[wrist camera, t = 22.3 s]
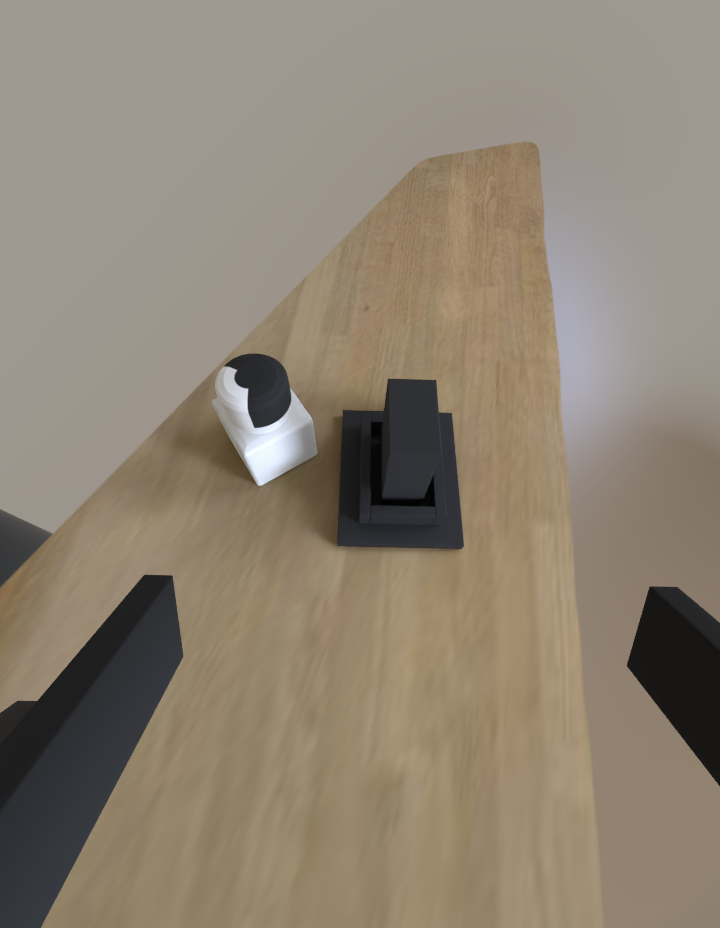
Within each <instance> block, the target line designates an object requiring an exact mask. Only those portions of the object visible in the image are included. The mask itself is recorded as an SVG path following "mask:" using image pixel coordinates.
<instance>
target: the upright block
mask: <svg viewBox="0 0 720 928" xmlns="http://www.w3.org/2000/svg"><path fill="white" fill-rule="evenodd" d="M441 455H442V451H441V438H440V425H439V411H438V398H437V385H436V380H411V379H388V384H387V392H386V400H385V408H384V416H383V424H382V432H381V440H380V505H408V506H420V505H421V503H422V501H423V498H424V496H425V493H426V491H427V489H428V486H429V484H430V481H431V479H432V477H433V474H434V472H435V469H436V467H437V465H438V462H439V460H440V457H441Z"/></svg>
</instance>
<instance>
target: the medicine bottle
mask: <svg viewBox="0 0 720 928" xmlns="http://www.w3.org/2000/svg"><path fill="white" fill-rule="evenodd" d="M215 390H216V393H217V396H218V397H217V398H215V399H213V400H212V405H213V407H214V409H215V411H216V413H217V415H218V417H219V419H220V421H221V423H222V425H223V427H224V429H225V431H226V433H227V434H228V436H229V438H230V440H231V442H232V443H233V445H234V447H235V448H236V450H237V452H238V454H239V455H240V457H241V459H242V460H243V462H244V464H245V465H246V467H247V469H248V470H249V472H250V474H251V475H252V477H253V479H254V481H255V482H256V484H257V485H258V486H262V485H264V484H265V483H267V482H269V481H271V480H273V479H274V478H276V477H278V476H280V475H282V474H284V473H285V472H287V471H289V470H291V469H293V468H294V467H296V466H298V465H300V464H302V463H303V462H305V461H307V460H309V459H311V458H312V457H314V456H316V455H317V446H316V439H315V433H314V426H313V420H312V418H311V416H310V415H309V414H308V412H307V411H306V409H305V408H304V406H303V405H302V404H301V402H300V401H299V399H298V398H297V397H296V395H295V394H294V392H293V391H292V389H291V388H290V386H289V381H288V377H287V373H286V370H285V369H284V367H283V366H282V364H281V363H279V362H278V361H277V360H276V359H274V358H272V357H270V356H267V355H262V354H245V355H241V356H238V357H236V358H234V359H232V360H231V361H229V362H228V363H227V364H226V365H225V366H224V367H223V368H222V369H221V370H220V372H219V374H218V375H217V378H216V382H215Z"/></svg>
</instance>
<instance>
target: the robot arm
mask: <svg viewBox="0 0 720 928" xmlns="http://www.w3.org/2000/svg"><path fill="white" fill-rule="evenodd" d="M182 658H183V650H182V643H181V636H180V628H179V621H178V613H177V606H176V598H175V591H174V584H173V576H168V575H144V576H143V577H142V578H141V579H140V581H139V582H138V583H137V584H136V585H135V587H134V588H133V589H132V590H131V591H130V592H129V594H128V595H127V596H126V597H125V598H124V599H123V601H122V602H121V603H120V604H119V605H118V607H117V608H116V609H115V610H114V611H113V612H112V614H111V615H110V616H109V617H108V618H107V620H106V621H105V622H104V623H103V624H102V625H101V627H100V628H99V629H98V630H97V631H96V633H95V634H94V635H93V636H92V637H91V638H90V640H89V641H88V642H87V643H86V644H85V646H84V647H83V648H82V649H81V650H80V651H79V653H78V654H77V655H76V656H75V657H74V659H73V660H72V661H71V662H70V663H69V664H68V666H67V667H66V668H65V669H64V670H63V671H62V673H61V674H60V675H59V676H58V677H57V679H56V680H55V681H54V682H53V683H52V684H51V686H50V687H49V688H48V689H47V690H46V692H45V693H44V694H43V695H42V696H41V697H40V699H39V700H38V701H17V702H15V703H14V704H12V705H11V706H10V707H8V708H7V709H5V710H4V711H3V712H1V713H0V928H41V926H42V924H43V922H44V920H45V918H46V916H47V915H48V913H49V911H50V909H51V907H52V905H53V903H54V901H55V899H56V897H57V896H58V894H59V892H60V890H61V888H62V886H63V884H64V882H65V880H66V878H67V876H68V875H69V873H70V871H71V869H72V867H73V865H74V863H75V861H76V859H77V857H78V856H79V854H80V852H81V850H82V848H83V846H84V844H85V842H86V840H87V838H88V837H89V835H90V833H91V831H92V829H93V827H94V825H95V823H96V821H97V819H98V818H99V816H100V814H101V812H102V810H103V808H104V806H105V804H106V802H107V800H108V799H109V797H110V795H111V793H112V791H113V789H114V787H115V785H116V783H117V781H118V780H119V778H120V776H121V774H122V772H123V770H124V768H125V766H126V764H127V762H128V761H129V759H130V757H131V755H132V753H133V751H134V749H135V747H136V745H137V743H138V742H139V740H140V738H141V736H142V734H143V732H144V730H145V728H146V726H147V724H148V722H149V721H150V719H151V717H152V715H153V713H154V711H155V709H156V707H157V705H158V703H159V702H160V700H161V698H162V696H163V694H164V692H165V690H166V688H167V686H168V684H169V683H170V681H171V679H172V677H173V675H174V673H175V671H176V669H177V667H178V665H179V664H180V662H181V660H182ZM627 667H628V668H629V669H630V670H631V672H632V673H633V674H634V676H635V677H636V678H637V680H638V681H639V682H640V684H641V685H642V686H643V687H644V689H645V690H646V691H647V692H648V694H649V695H650V696H651V698H652V699H653V700H654V702H655V703H656V704H657V705H658V707H659V708H660V709H661V711H662V712H663V713H664V714H665V715H666V717H667V718H668V720H669V721H670V722H671V724H672V725H673V726H674V728H675V729H676V730H677V731H678V733H679V734H680V735H681V737H682V738H683V739H684V740H685V742H686V743H687V744H688V746H689V747H690V748H691V749H692V751H693V752H694V753H695V755H696V756H697V757H698V759H699V760H700V761H701V762H702V764H703V765H704V766H705V768H706V769H707V770H708V771H709V773H710V774H711V775H712V777H713V778H714V779H715V781H716V782H717V783H718V785H719V786H720V623H719V622H718V621H717V620H716V619H715V618H713V617H712V616H711V615H710V614H708V613H707V612H706V611H705V610H704V609H703V608H701V607H700V606H699V605H698V604H697V603H695V602H694V601H693V600H692V599H691V598H690V597H688V596H687V595H686V594H685V593H684V592H682V591H681V590H680V589H679V588H678V587H650V588H649V591H648V594H647V598H646V601H645V605H644V608H643V612H642V615H641V618H640V622H639V625H638V629H637V632H636V636H635V639H634V643H633V646H632V650H631V653H630V657H629V660H628V663H627Z"/></svg>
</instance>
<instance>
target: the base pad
mask: <svg viewBox="0 0 720 928" xmlns="http://www.w3.org/2000/svg"><path fill="white" fill-rule="evenodd" d="M383 416H384V411H354V410H343V428H342V451H341V474H340V497H339V521H338V546H364V547H406V548H449V549H462V548H463V546H464V542H463V531H462V520H461V509H460V498H459V487H458V476H457V465H456V454H455V443H454V432H453V422H452V413H439V425H440V438H441V451H442V455H441V457H440V460H439V462H438V465H437V467H436V469H435V472H434V474H433V477H432V479H431V481H430V484H429V486H428V489H427V491H426V493H425V496H424V498H423V501H422V503H421V505H420V506H408V505H380V440H381V432H382V424H383Z"/></svg>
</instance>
